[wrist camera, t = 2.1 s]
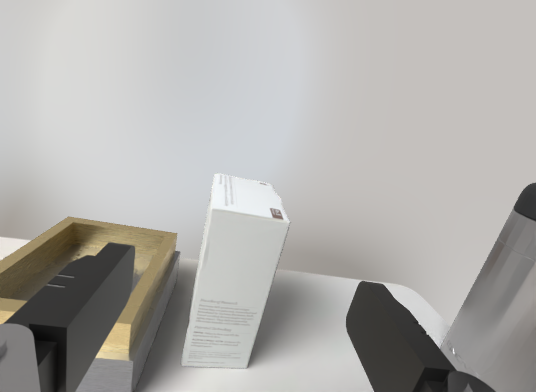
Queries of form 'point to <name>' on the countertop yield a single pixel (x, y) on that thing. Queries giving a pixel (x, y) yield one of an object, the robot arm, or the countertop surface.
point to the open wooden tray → (136, 310)
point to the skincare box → (234, 272)
